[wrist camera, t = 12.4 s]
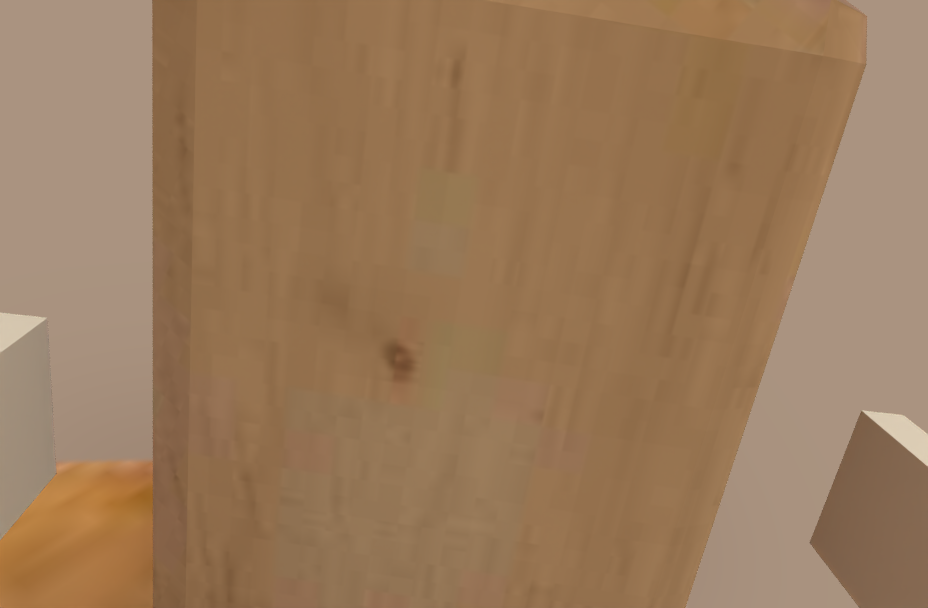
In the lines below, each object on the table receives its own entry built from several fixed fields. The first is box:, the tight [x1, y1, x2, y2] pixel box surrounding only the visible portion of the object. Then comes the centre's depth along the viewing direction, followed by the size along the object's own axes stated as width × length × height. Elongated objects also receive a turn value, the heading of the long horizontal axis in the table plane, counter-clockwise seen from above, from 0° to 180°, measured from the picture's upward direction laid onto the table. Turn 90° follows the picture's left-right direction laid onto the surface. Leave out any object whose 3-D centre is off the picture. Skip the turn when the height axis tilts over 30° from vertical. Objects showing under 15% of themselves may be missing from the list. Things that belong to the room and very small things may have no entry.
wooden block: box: [152, 0, 867, 608], centre depth 17 cm, size 10×10×20 cm
